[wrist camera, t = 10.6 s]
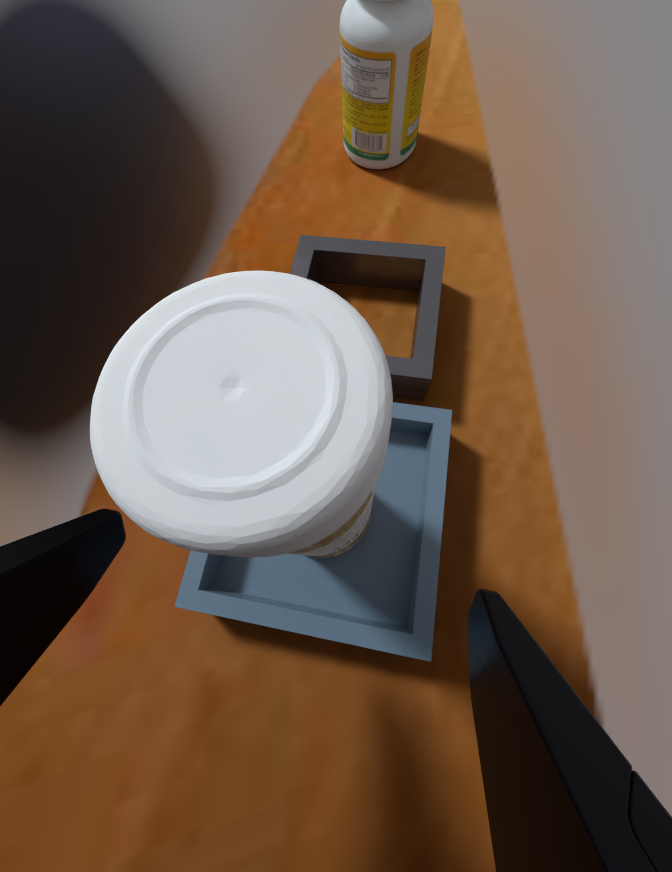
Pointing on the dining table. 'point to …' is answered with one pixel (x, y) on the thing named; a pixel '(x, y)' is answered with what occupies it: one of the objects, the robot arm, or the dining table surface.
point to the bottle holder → (387, 270)
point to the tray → (352, 559)
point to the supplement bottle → (383, 77)
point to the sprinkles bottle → (246, 418)
